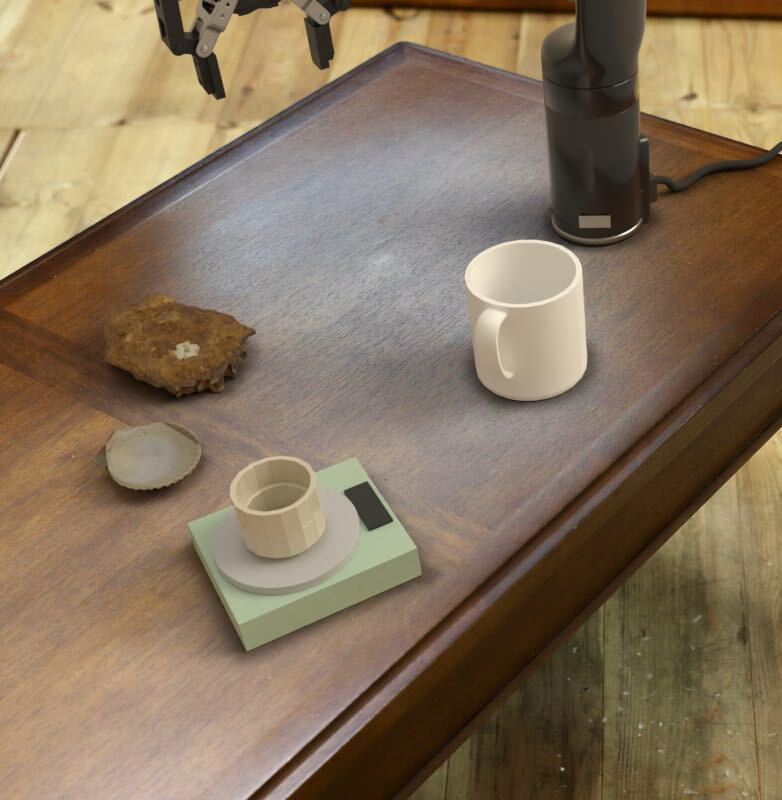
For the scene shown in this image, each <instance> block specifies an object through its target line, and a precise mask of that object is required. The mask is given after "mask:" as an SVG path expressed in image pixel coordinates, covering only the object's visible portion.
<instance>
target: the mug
mask: <svg viewBox="0 0 782 800" xmlns="http://www.w3.org/2000/svg"><path fill="white" fill-rule="evenodd" d="M464 284H465V293H466V301H467V308H468V309H467V310H468V316H469V324H470V332H471V339H472V349H473V356H474V363H475V370H476V374H477V378H478V379H479V381H480V383H481V384H482V385H483V386H484V387H485V388H486V389H488V390H489V391H491V392H492V394H495V395H497V396H500V397H503V398H504V399H508V400H513V401H519V402H536V401H537V402H538V401H542V400H549V399H551V398H554V397H557V396H559V395H562V394H564V393H565V392H567V391H569V390H571V389H572V388H573V387H574V386H576V384H578V382H579V381H580V380H581V379H582V378H583V376H584V374H585V372H586V370H587V366H588V348H587V333H586V332H587V331H586V314H585V313H586V311H585V296H584V279H583V267H582V264H581V262H580V258H578V257H577V255H576V254H575V253H574V252H573V251H572V250H570V249H569V248H567V247H565V246H563V245H561V244H558V243H555V242H551V241H547V240H541V239H517V240H511V241H505V242H502V243H498V244H497V245H493V246H491V247H489V248H486V249H485V250H483V251H481V252H480V253H479V254H477V255H476V256H474V258H472V259H471V261H470V262H469V264H468V265H467V267H466V268H465V274H464Z"/></svg>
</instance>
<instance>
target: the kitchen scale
mask: <svg viewBox="0 0 782 800" xmlns="http://www.w3.org/2000/svg"><path fill="white" fill-rule="evenodd" d="M314 472H315V471H314ZM315 474H316V478H317V482H318V486H319V491H320V495H321V499H322V503H323V508H324V512H325V516H326V528H325V530H324V532H323V534H322V535H321V537H320V539H319V540H318V541H317V542H316V543H314V544H313V545H312V546H311V547H310V548H309V549H307V550H306V551H304V552H302V553H300V554H298V555H296V556H293V557H289V558H281V559H274V558H268V557H263V556H259V555H257V554H255V553H254V552H252V551H250V550H249V549H248V548H247V547H246V545H245V543H244V542H243V540H242V537H241V534H240V530H239V527H238V524H237V520H236V517H235V514H234V510H233V507H232V505H230V506H226V507H225V508H222V509H220V510H217V511H215V512H211V513H210V514H207V515H205V516H202V517H199V518H197V519H193V520H192V521H189V522H187V523H186V524H187V529H188V531H189V534H190V537H191V540H192V543H193V547H194V549H195V552H196V554H197V556H198V557H199V559H200V562H201V564H202V566H203V567H204V570H205V571H206V573H207V576H208V577H209V579H210V582H211V584H212V585H213V587H214V589H215V591H216V593H217V596H218V597H219V600H220V601H221V603H222V605H223V607H224V609H225V611H226V613H227V615H228V617H229V619H230V621H231V623H232V626H233V627H234V629H235V632H236V633H237V635H238V638H239V639H240V641H241V643H242V646H243V647H244V649H245V651H246V652H249V651H251V650H253V649H257V648H259V647H261V646H263V645H265V644H268V643H269V642H272V641H274V640H277V639H279V638H281V637H283V636H286V635H288V634H290V633H293V632H295V631H297V630H300V629H302V628H304V627H306V626H308V625H311V624H313V623H315V622H317V621H320V620H323V619H325V618H326V617H327V618H328V617H329V616H331V615H334V614H336V613H338V612H340V611H343V610H345V609H347V608H350V607H352V606H354V605H356V604H359V603H361V602H363V601H365V600H367V599H370V598H372V597H375V596H377V595H379V594H381V593H384V592H386V591H389V590H391V589H393V588H395V587H397V586H400V585H402V584H404V583H407V582H408V581H411V580H413V579H416V578H418V577H420V576H422V574H423V573H422V567H421V561H420V556H419V551H418V547H417V545H416V543H415V542H414V541H413V539H412V538H411V536H410V535H409V533H408V532H407V530H406V529H405V528H404V526H403V524H402V523H401V522H400V520H399V519H398V517H397V516H396V514H395V512H394V511H393V510H392V508H391V507H390V505H389V504H388V502H387V501H386V500H385V498H384V497H383V495H382V493H381V491H379V489H378V488H377V486H376V485H375V484H374V482H373V481H372V479H371V478H370V476H369V474H368V472H366V470H365V469H364V467H363V466H362V464H361V463H360V461H359V460H358V458H357V457H356V456H353V457H351V458H349V459H345V460H343V461H340V462H338V463H335V464H333V465H330V466H328V467H325V468H323V469H320V470H319V471H316V472H315Z"/></svg>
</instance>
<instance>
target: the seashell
mask: <svg viewBox="0 0 782 800" xmlns="http://www.w3.org/2000/svg"><path fill="white" fill-rule="evenodd" d="M202 452H203V447H202V442H201V440H200V438H199V437H198V435H197V434H196V433H195V432H194V431H192V430H191V429H189V427H187V426H185V425H182V424H180V423H177V422H164V421H162V422H161V421H158V422H152V423H147V424H143V425H140V426H132V427H126V428H119V429H114V430H113V431H112V432H111V433H110V435H109V437H107V440H106V442H105V444H104V445H103V446H102V448H100V450H99V451H97V453H96V455H95V456H94V457H93V459H92V462H93V463H94V464H95V465H96V466H98V467H104V469H106V471H108V473H109V475H110V476H111V479H112V480H113V481H114V483H116V484H117V485H119V486H120V487H124V488H126V489H129V490H134V491H143V492H145V491H154V490H160V489H161V490H162V489H163V488H168V487H170V486H171V485H177V483H178V482H179V481H184V480H185V479H186V477H187V476H190V475H191V474H192V473H193V472H192V471H194V470H196V469H197V465H198V464H200V463H201V458H202V457H203V453H202Z"/></svg>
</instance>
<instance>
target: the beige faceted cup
mask: <svg viewBox="0 0 782 800" xmlns="http://www.w3.org/2000/svg"><path fill="white" fill-rule="evenodd" d="M228 494H229V495H228V496H229V499H230V503H231V506H232V507H233V510H234V514H235V517H236V520H237V524H238V527H239V530H240V534H241V537H242V540H243V542H244V543H245V545H246V547H247V548H248V549H249V550H250V551H252V552H254V553H255V554H257V555H259V556H263V557H268V558H274V559H281V558H289V557H293V556H296V555H298V554H300V553H302V552H304V551H306V550H307V549H309V548H310V547H311V546H312V545H313V544H314V543H316V542H317V541H318V540H319V539H320V537H321V535H322V534H323V532H324V530H325V528H326V516H325V512H324V508H323V503H322V499H321V495H320V491H319V486H318V482H317V478H316V474H315V471H314V469H313V467H312V466H311V465H310V463H308V462H306V461H304V460H303V459H301V458H299V457H294V456H287V455H277V456H268V457H264V458H261V459H259V460H257V461H254V462H252V463H249V464H248V465H247V466H245V467H244V468H242V469H241V470H240V471H238V473H237V474H236V475H235V476H234V478H233V480H232V481H231V483H230V485H229V493H228Z"/></svg>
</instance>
